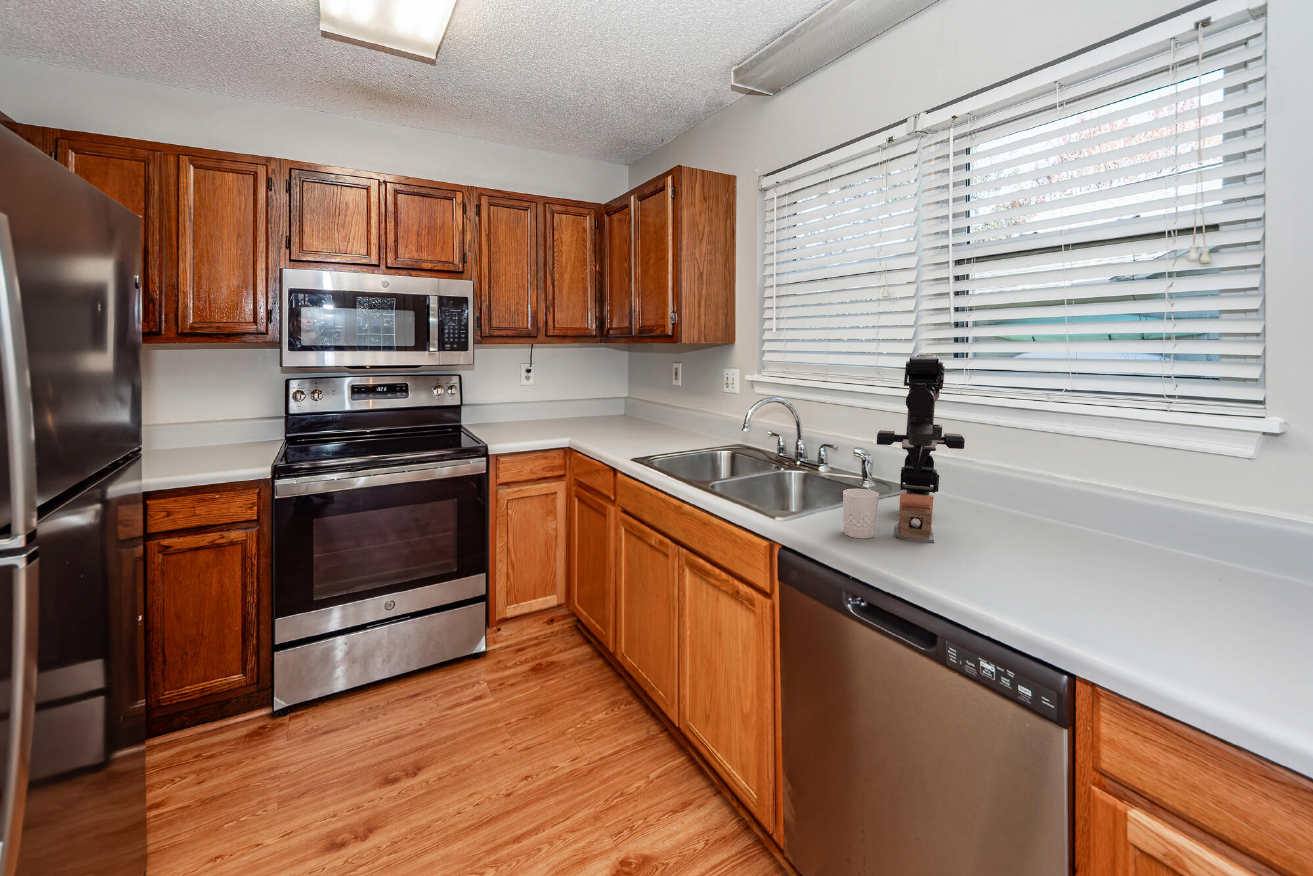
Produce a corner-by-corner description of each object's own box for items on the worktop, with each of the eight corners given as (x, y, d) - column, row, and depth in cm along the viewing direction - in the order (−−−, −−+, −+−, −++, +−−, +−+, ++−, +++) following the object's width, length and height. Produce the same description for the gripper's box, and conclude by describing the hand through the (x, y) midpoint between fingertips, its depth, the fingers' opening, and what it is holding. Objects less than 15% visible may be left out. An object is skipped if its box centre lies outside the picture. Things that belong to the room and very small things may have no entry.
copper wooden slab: (898, 528, 137) (900, 492, 136) (930, 531, 134) (933, 495, 133) (898, 534, 132) (900, 497, 131) (931, 538, 130) (934, 500, 128)
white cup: (870, 541, 131) (873, 498, 129) (836, 535, 135) (838, 493, 134) (881, 532, 137) (883, 491, 135) (847, 526, 141) (849, 487, 140)
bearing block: (895, 525, 142) (897, 499, 141) (931, 529, 139) (933, 502, 138) (895, 538, 133) (897, 510, 132) (934, 542, 130) (936, 514, 129)
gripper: (877, 412, 132) (874, 479, 135) (969, 415, 125) (964, 485, 128) (878, 407, 143) (875, 469, 145) (964, 410, 136) (959, 475, 138)
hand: (916, 474), depth 139 cm, fingers closed
